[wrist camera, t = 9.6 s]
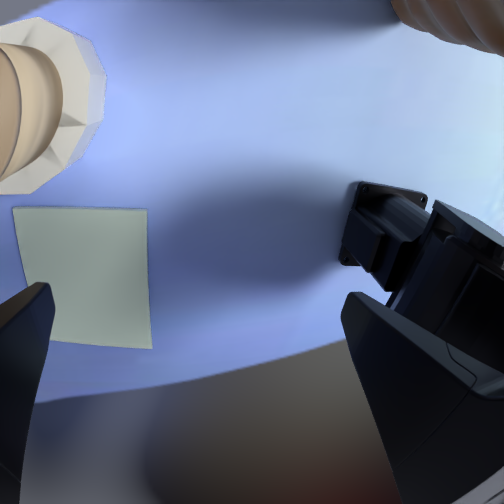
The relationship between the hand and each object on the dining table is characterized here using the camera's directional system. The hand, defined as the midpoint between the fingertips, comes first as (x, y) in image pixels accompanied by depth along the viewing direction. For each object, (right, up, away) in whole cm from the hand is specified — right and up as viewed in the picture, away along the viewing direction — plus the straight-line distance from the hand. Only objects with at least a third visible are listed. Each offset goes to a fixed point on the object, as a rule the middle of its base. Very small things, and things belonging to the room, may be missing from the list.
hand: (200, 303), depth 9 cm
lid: (-11, +9, +3) cm, 15 cm away
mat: (-11, -1, +12) cm, 16 cm away
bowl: (-12, +11, +6) cm, 17 cm away
